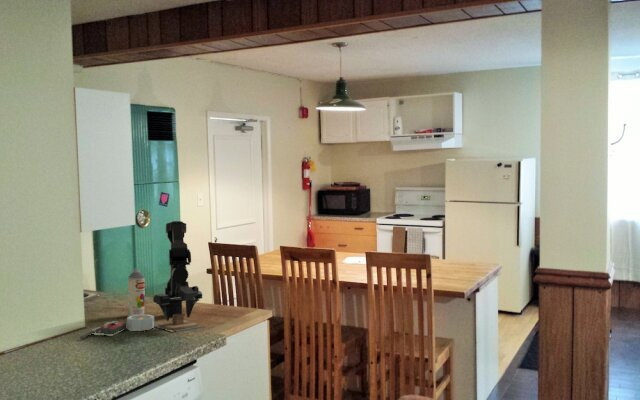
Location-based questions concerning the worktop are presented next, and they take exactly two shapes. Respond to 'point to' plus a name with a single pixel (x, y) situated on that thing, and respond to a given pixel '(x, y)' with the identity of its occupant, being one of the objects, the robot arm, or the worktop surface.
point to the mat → (181, 329)
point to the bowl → (140, 322)
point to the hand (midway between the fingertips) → (178, 318)
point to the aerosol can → (136, 293)
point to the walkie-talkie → (108, 328)
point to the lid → (178, 323)
